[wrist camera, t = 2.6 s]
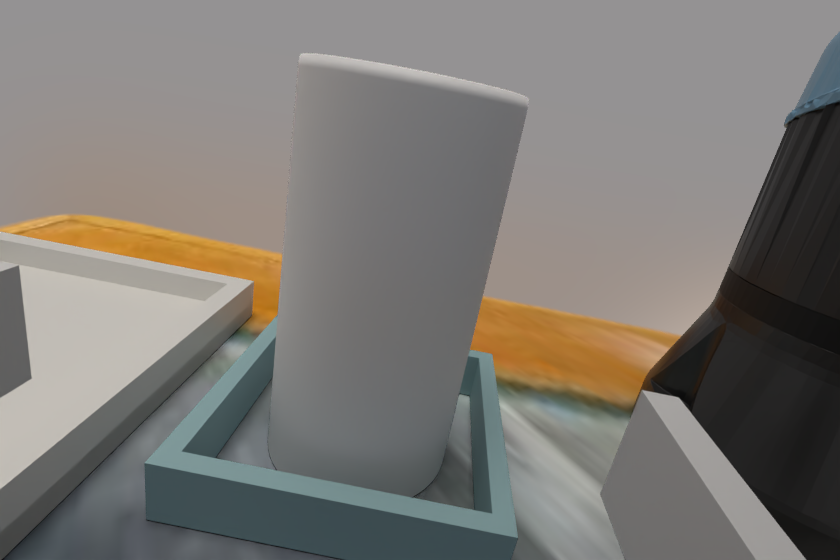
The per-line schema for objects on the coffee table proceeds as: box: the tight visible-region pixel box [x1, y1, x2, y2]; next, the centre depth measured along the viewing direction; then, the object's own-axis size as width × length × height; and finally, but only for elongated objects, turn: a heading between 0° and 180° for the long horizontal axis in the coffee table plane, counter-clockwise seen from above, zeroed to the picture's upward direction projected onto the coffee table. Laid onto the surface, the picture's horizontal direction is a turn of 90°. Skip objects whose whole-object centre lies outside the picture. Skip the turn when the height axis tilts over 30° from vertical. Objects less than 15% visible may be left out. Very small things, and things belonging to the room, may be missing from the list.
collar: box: [145, 315, 518, 560], centre depth 22 cm, size 13×13×2 cm
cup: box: [268, 53, 529, 497], centre depth 20 cm, size 8×8×16 cm
